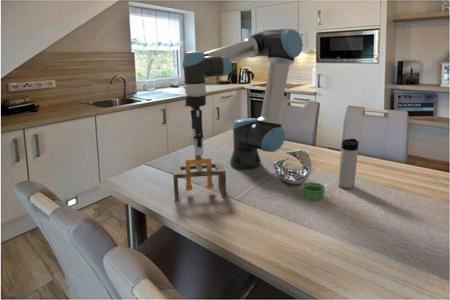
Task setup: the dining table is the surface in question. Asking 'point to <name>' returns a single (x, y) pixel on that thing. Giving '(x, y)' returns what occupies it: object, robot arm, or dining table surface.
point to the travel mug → (348, 163)
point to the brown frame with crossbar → (219, 171)
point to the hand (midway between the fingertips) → (197, 149)
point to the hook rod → (199, 167)
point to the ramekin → (312, 191)
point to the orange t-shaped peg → (194, 162)
